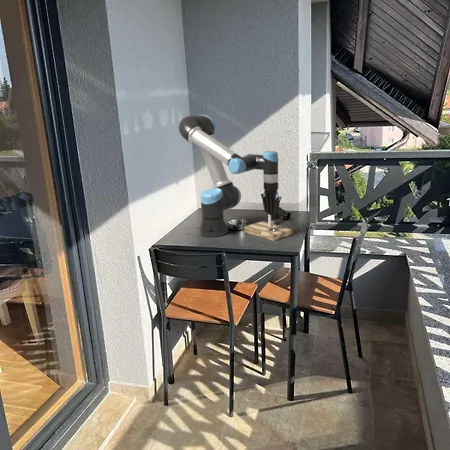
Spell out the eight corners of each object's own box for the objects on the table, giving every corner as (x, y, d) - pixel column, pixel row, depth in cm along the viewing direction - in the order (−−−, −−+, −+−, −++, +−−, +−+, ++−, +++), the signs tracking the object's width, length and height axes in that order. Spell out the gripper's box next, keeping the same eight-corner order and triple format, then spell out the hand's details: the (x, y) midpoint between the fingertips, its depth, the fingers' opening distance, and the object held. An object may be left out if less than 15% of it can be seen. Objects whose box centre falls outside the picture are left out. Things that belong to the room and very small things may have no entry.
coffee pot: (279, 215, 265) (291, 219, 260) (262, 226, 252) (275, 231, 248) (279, 204, 261) (292, 208, 257) (263, 215, 249) (276, 219, 244)
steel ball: (275, 236, 227) (274, 228, 226) (270, 235, 230) (269, 228, 229) (281, 234, 229) (280, 227, 228) (275, 234, 232) (274, 226, 231)
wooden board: (273, 240, 221) (273, 235, 220) (244, 231, 237) (244, 226, 236) (292, 234, 229) (292, 229, 229) (262, 226, 246) (262, 221, 245)
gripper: (285, 182, 221) (285, 227, 228) (267, 179, 231) (267, 222, 237) (274, 184, 217) (275, 230, 223) (256, 181, 226) (257, 225, 233)
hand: (271, 226), depth 230 cm, fingers closed
